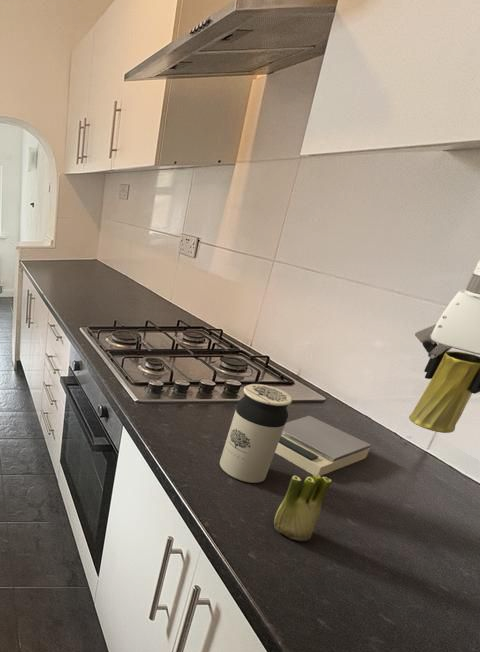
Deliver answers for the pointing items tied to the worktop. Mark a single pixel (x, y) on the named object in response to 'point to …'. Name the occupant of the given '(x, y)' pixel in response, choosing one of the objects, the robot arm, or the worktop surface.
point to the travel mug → (255, 432)
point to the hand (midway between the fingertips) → (453, 383)
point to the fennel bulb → (301, 507)
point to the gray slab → (323, 438)
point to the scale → (313, 457)
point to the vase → (447, 392)
